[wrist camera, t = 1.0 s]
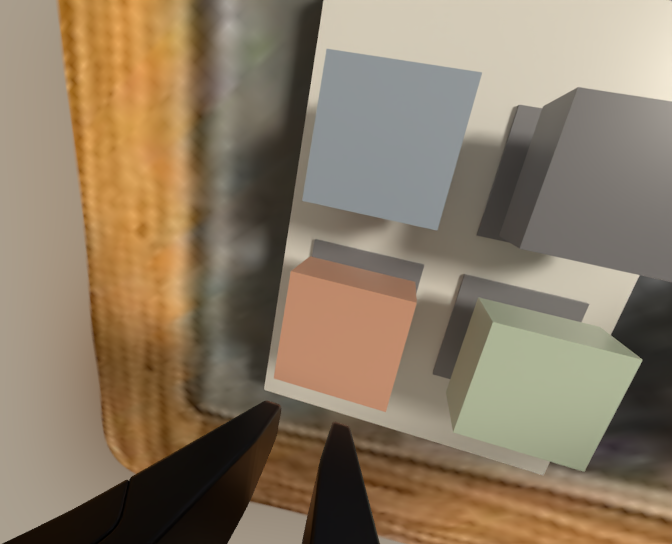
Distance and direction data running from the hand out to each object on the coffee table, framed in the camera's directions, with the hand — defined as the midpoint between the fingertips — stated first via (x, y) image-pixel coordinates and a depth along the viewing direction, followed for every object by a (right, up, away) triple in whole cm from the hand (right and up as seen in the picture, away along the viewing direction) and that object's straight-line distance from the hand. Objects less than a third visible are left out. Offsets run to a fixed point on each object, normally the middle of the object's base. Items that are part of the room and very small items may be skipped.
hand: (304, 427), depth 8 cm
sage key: (+8, 0, +6) cm, 10 cm away
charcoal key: (+9, +7, +4) cm, 12 cm away
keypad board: (+6, +5, +9) cm, 12 cm away
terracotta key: (+1, +2, +7) cm, 7 cm away
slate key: (+3, +8, +5) cm, 10 cm away
